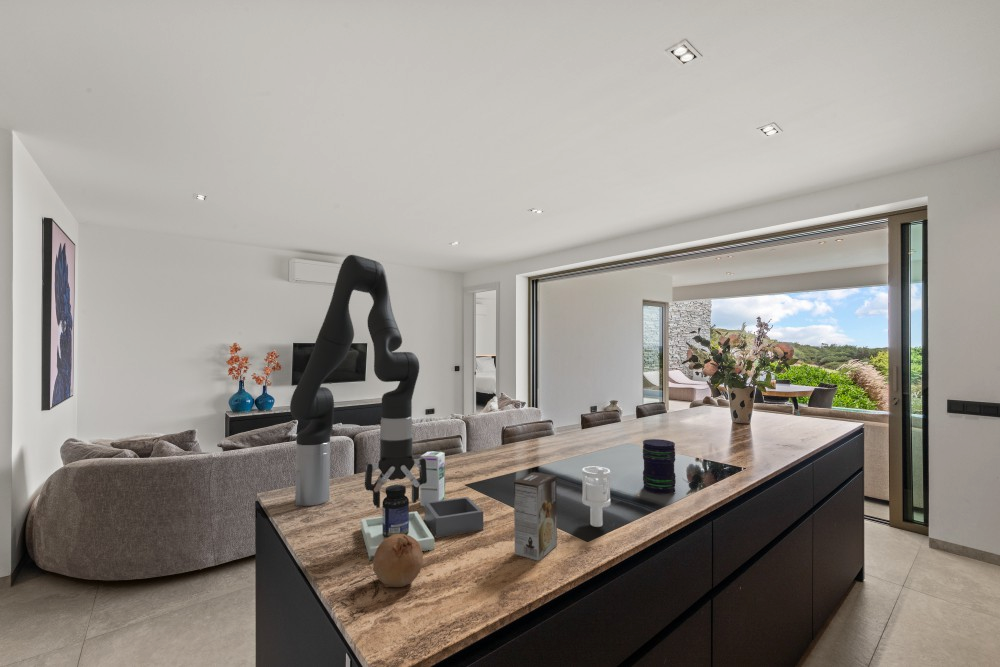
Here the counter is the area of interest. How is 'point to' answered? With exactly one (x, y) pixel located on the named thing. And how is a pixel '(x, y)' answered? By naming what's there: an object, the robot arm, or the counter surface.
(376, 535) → the tray
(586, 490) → the white cylindrical cage part
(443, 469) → the syrup box
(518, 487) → the coffee box
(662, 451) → the storage jar
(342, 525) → the counter surface
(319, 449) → the robot arm
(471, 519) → the holder
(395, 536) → the onion
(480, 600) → the counter surface
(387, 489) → the pill bottle
